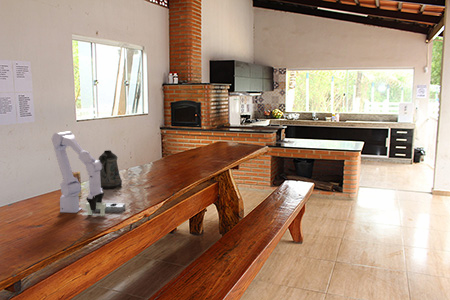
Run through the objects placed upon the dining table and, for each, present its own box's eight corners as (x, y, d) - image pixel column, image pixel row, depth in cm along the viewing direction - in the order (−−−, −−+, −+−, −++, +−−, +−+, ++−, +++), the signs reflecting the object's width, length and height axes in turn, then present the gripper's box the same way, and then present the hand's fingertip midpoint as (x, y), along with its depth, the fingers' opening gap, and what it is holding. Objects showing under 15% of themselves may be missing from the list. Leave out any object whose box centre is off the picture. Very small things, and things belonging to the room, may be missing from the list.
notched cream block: (86, 215, 215) (85, 204, 214) (88, 213, 218) (87, 202, 217) (104, 216, 215) (103, 204, 214) (106, 214, 218) (106, 202, 217)
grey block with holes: (89, 211, 222) (89, 206, 222) (94, 207, 229) (94, 202, 229) (121, 212, 221) (121, 207, 221) (125, 208, 228) (125, 203, 227)
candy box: (81, 194, 254) (80, 171, 252) (80, 196, 250) (78, 172, 248) (67, 195, 253) (65, 171, 251) (65, 197, 249) (63, 173, 247)
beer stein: (121, 182, 285) (120, 148, 281) (123, 189, 267) (122, 152, 263) (96, 184, 280) (95, 149, 276) (97, 191, 262) (95, 154, 258)
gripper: (97, 187, 206) (98, 212, 208) (107, 180, 220) (108, 204, 223) (83, 186, 207) (85, 212, 209) (94, 180, 221) (95, 203, 223)
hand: (96, 208), depth 216 cm, fingers open, 7 cm apart
